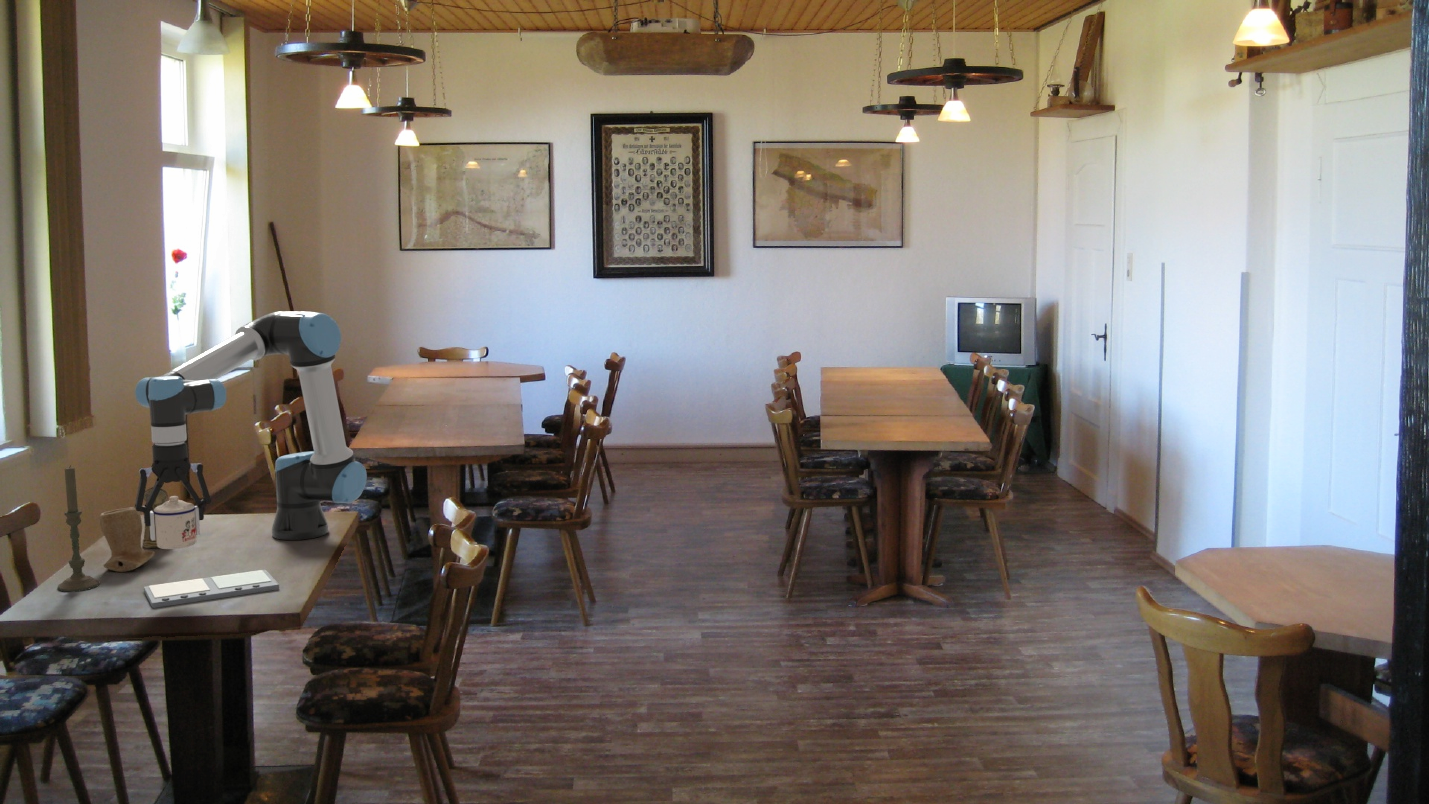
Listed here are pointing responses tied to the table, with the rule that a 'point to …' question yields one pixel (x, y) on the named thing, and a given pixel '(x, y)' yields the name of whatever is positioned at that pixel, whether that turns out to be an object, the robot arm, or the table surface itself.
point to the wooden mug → (159, 501)
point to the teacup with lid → (175, 524)
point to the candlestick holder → (75, 539)
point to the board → (210, 588)
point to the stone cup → (124, 539)
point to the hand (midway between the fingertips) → (175, 536)
